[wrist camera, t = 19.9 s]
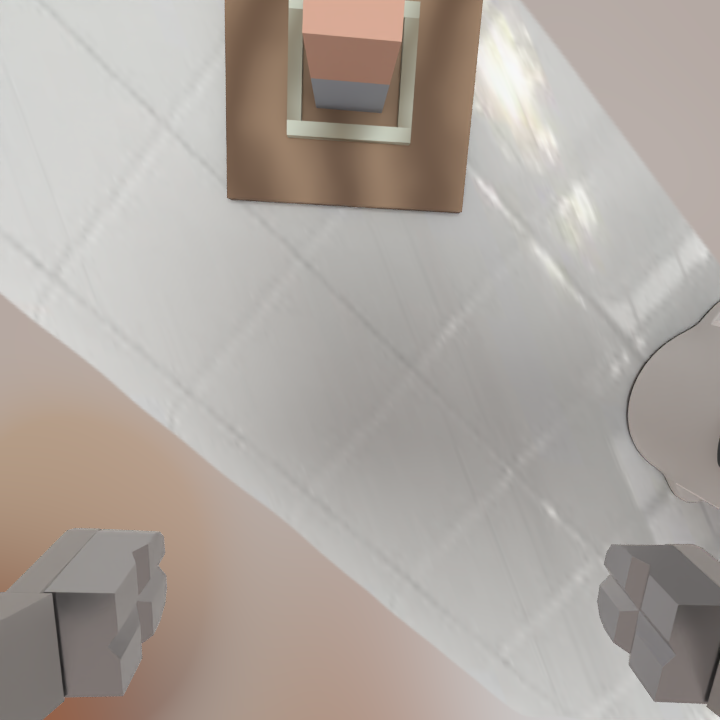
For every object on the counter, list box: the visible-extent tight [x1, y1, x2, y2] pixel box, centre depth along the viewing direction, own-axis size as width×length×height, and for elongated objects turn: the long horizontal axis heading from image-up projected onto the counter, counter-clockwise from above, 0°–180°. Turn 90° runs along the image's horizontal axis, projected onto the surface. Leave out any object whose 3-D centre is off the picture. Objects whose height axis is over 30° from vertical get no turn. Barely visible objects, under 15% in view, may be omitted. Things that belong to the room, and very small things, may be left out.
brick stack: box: [302, 0, 405, 113], centre depth 27 cm, size 5×5×12 cm
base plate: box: [225, 0, 483, 213], centre depth 34 cm, size 18×18×2 cm
